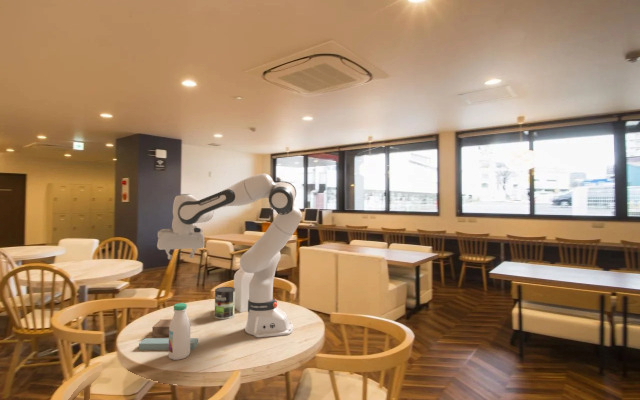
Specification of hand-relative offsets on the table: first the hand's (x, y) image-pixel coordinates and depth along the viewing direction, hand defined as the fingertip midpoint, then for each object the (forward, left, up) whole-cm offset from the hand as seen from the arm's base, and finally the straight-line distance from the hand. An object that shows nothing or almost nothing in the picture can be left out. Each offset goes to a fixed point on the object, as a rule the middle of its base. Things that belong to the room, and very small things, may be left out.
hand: (180, 258), depth 149 cm
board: (-2, +16, -34) cm, 38 cm away
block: (+5, +2, -34) cm, 34 cm away
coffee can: (-16, -20, -34) cm, 42 cm away
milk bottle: (-9, +24, -34) cm, 43 cm away
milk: (-25, -33, -34) cm, 53 cm away
